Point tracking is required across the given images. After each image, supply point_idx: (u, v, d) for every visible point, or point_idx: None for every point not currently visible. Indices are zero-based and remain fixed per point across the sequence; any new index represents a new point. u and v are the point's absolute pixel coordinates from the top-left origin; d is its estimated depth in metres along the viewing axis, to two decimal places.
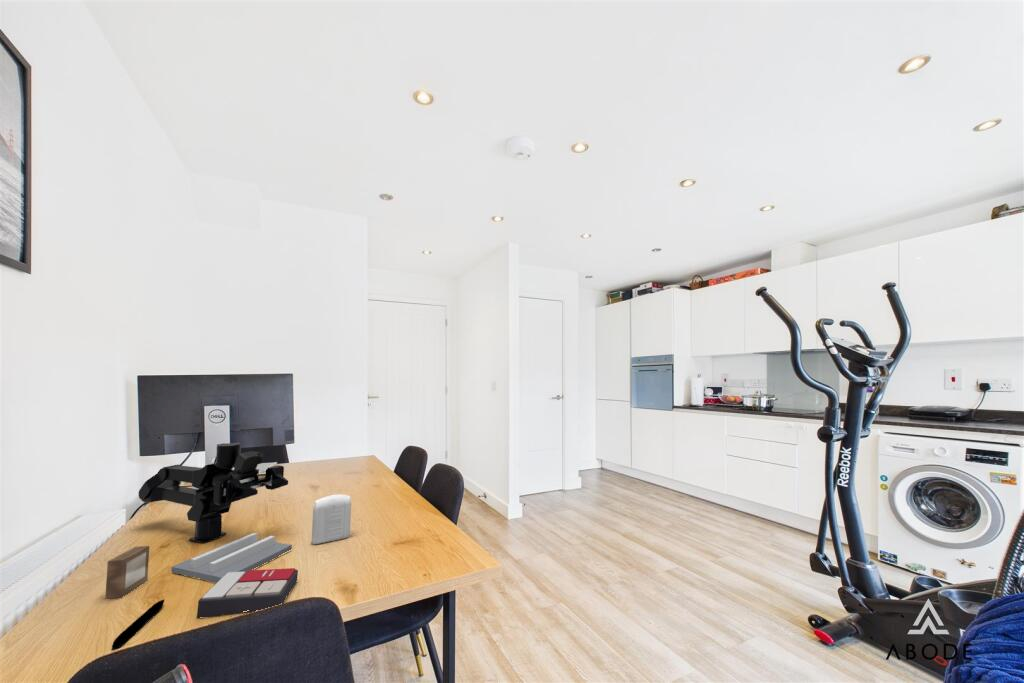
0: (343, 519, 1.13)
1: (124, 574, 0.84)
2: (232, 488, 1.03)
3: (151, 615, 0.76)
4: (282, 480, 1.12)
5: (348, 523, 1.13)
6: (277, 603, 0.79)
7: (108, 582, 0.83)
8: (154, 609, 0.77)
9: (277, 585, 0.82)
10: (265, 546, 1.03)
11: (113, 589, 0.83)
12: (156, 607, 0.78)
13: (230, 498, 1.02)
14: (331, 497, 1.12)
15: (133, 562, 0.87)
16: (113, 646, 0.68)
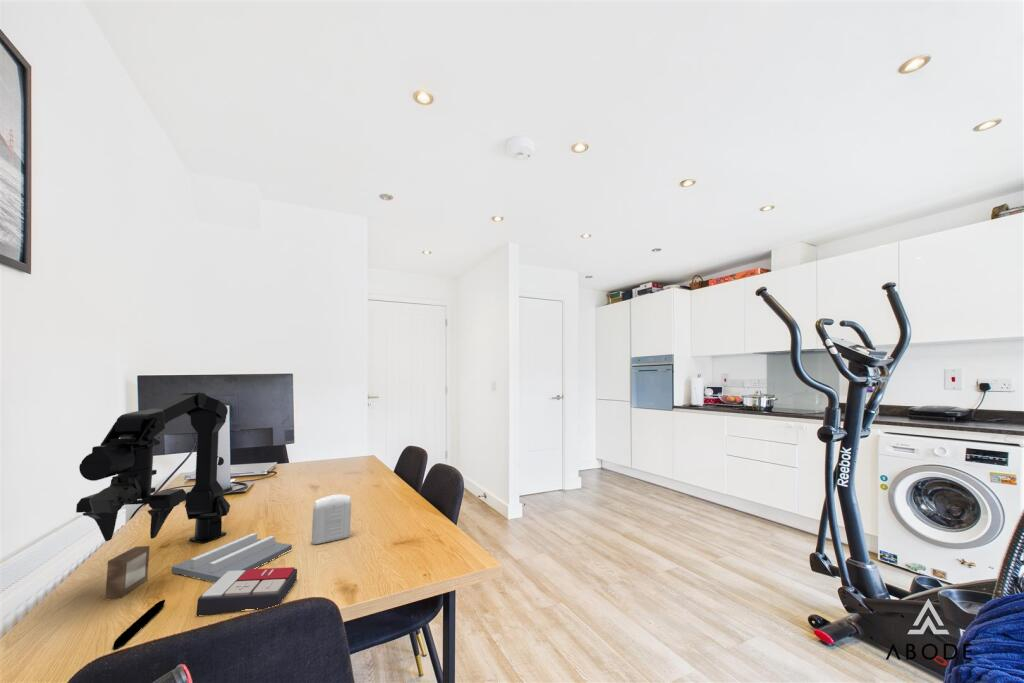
0: (343, 519, 1.13)
1: (124, 574, 0.84)
2: None
3: (151, 615, 0.76)
4: None
5: (348, 523, 1.13)
6: (275, 602, 0.80)
7: (108, 582, 0.83)
8: (155, 609, 0.77)
9: (275, 584, 0.82)
10: (265, 546, 1.03)
11: (113, 589, 0.83)
12: (157, 607, 0.78)
13: None
14: (331, 497, 1.12)
15: (133, 562, 0.87)
16: (114, 646, 0.68)
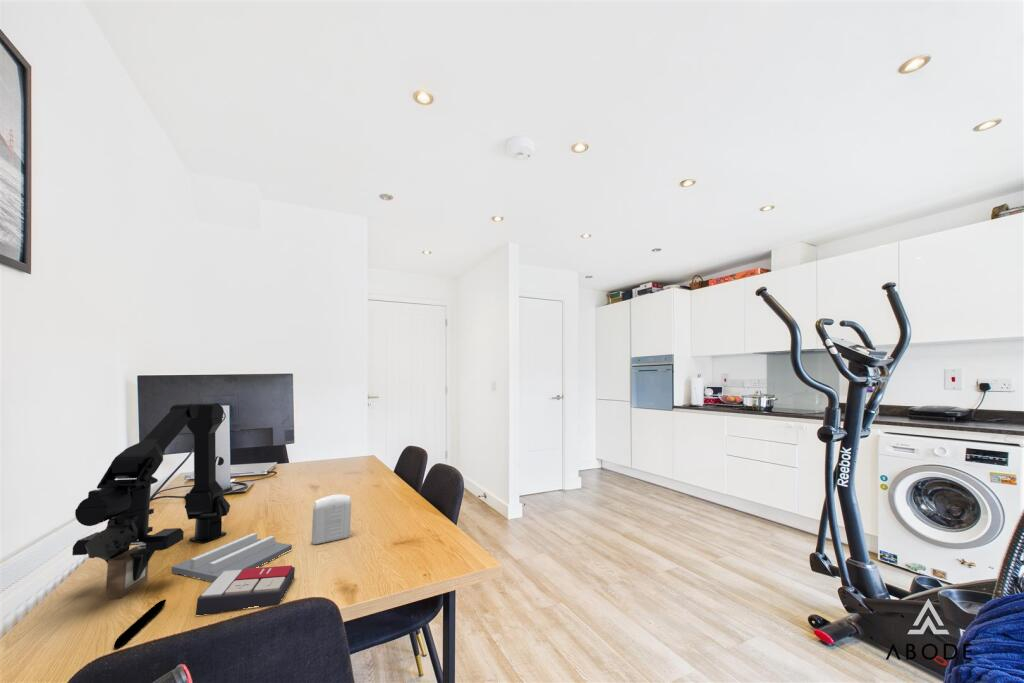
0: (343, 519, 1.13)
1: (124, 574, 0.84)
2: None
3: (152, 614, 0.76)
4: None
5: (348, 523, 1.13)
6: (276, 599, 0.81)
7: (108, 582, 0.83)
8: (156, 609, 0.77)
9: (276, 582, 0.83)
10: (265, 546, 1.03)
11: (113, 589, 0.83)
12: (158, 607, 0.78)
13: None
14: (331, 497, 1.12)
15: (133, 562, 0.87)
16: (115, 646, 0.68)
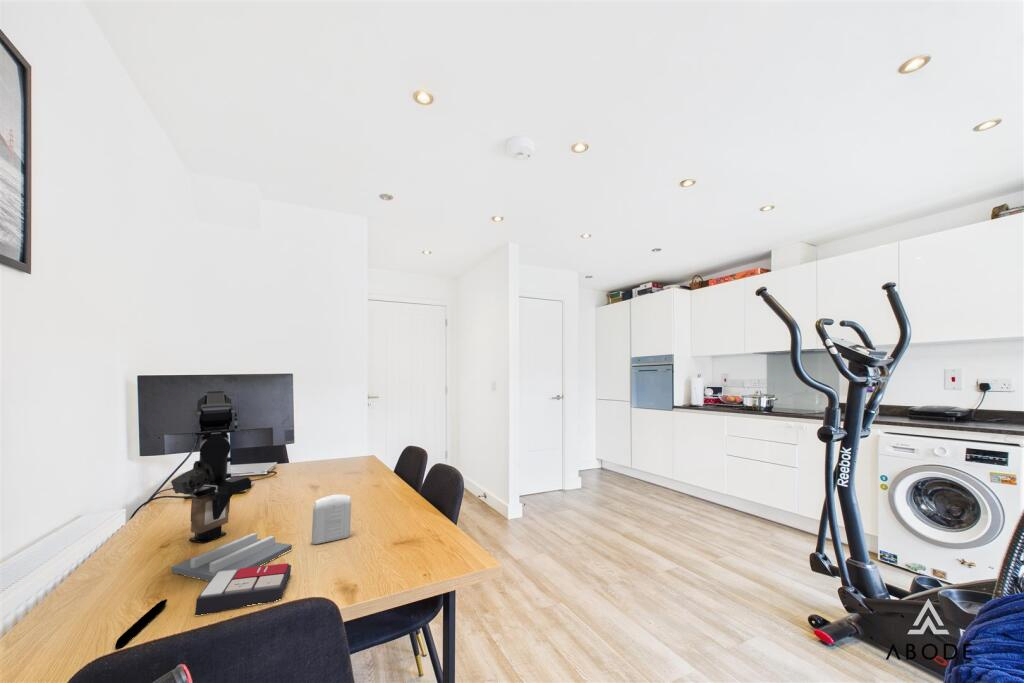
0: (343, 519, 1.13)
1: (203, 512, 0.94)
2: None
3: (153, 614, 0.76)
4: None
5: (348, 523, 1.13)
6: (278, 595, 0.82)
7: (192, 517, 0.94)
8: (157, 609, 0.77)
9: (275, 579, 0.85)
10: (265, 546, 1.03)
11: (195, 524, 0.94)
12: (159, 607, 0.78)
13: None
14: (331, 497, 1.12)
15: (212, 503, 0.96)
16: (116, 645, 0.68)
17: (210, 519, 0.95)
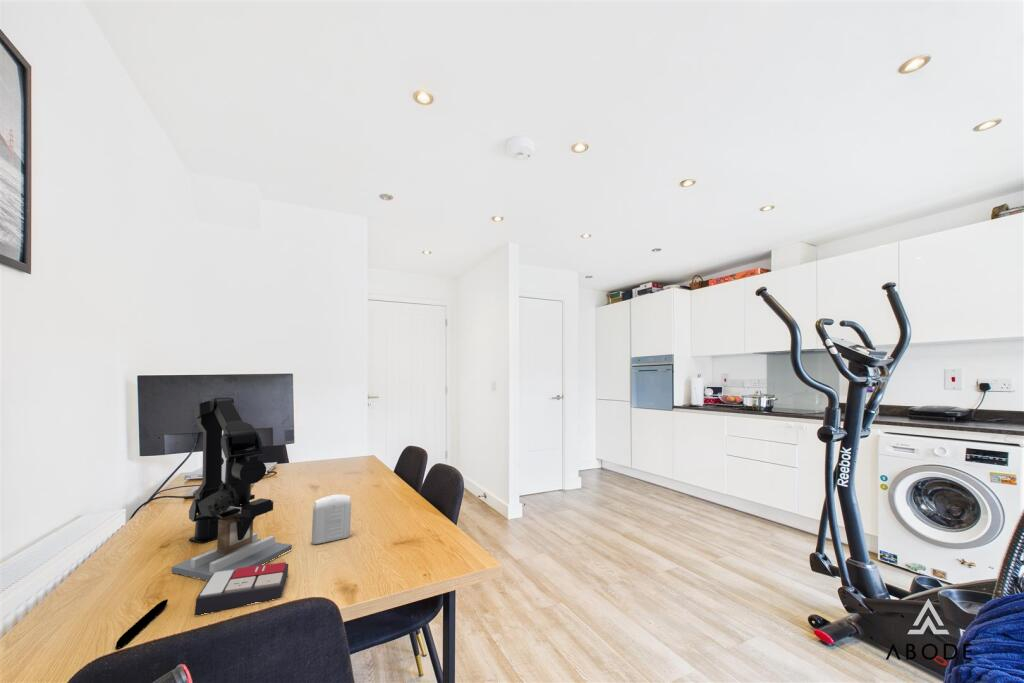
0: (343, 519, 1.13)
1: (228, 533, 0.97)
2: None
3: (154, 614, 0.76)
4: None
5: (348, 523, 1.13)
6: (278, 593, 0.83)
7: (218, 538, 0.97)
8: (157, 609, 0.78)
9: (275, 577, 0.85)
10: (265, 546, 1.03)
11: (221, 544, 0.97)
12: (159, 607, 0.78)
13: None
14: (331, 497, 1.12)
15: None
16: (116, 646, 0.68)
17: (235, 540, 0.98)
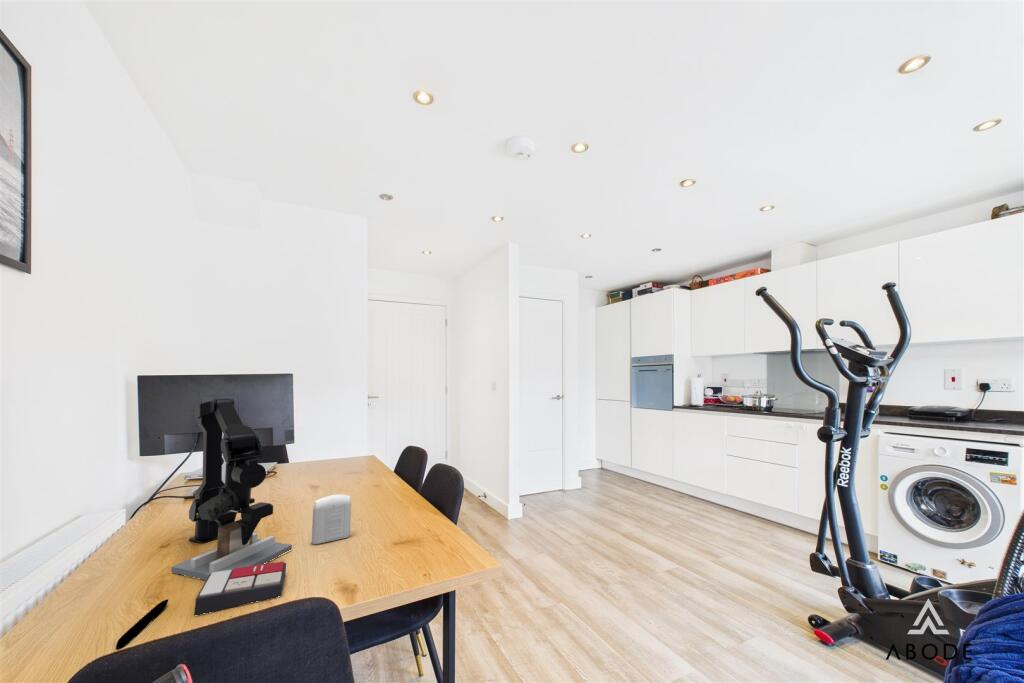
0: (343, 519, 1.13)
1: (228, 541, 0.97)
2: None
3: (154, 614, 0.76)
4: None
5: (348, 523, 1.13)
6: (278, 592, 0.83)
7: (218, 546, 0.97)
8: (158, 609, 0.78)
9: (274, 576, 0.86)
10: (265, 546, 1.03)
11: (221, 552, 0.97)
12: (160, 607, 0.78)
13: None
14: (331, 497, 1.12)
15: (236, 532, 0.99)
16: (117, 646, 0.68)
17: (235, 548, 0.98)
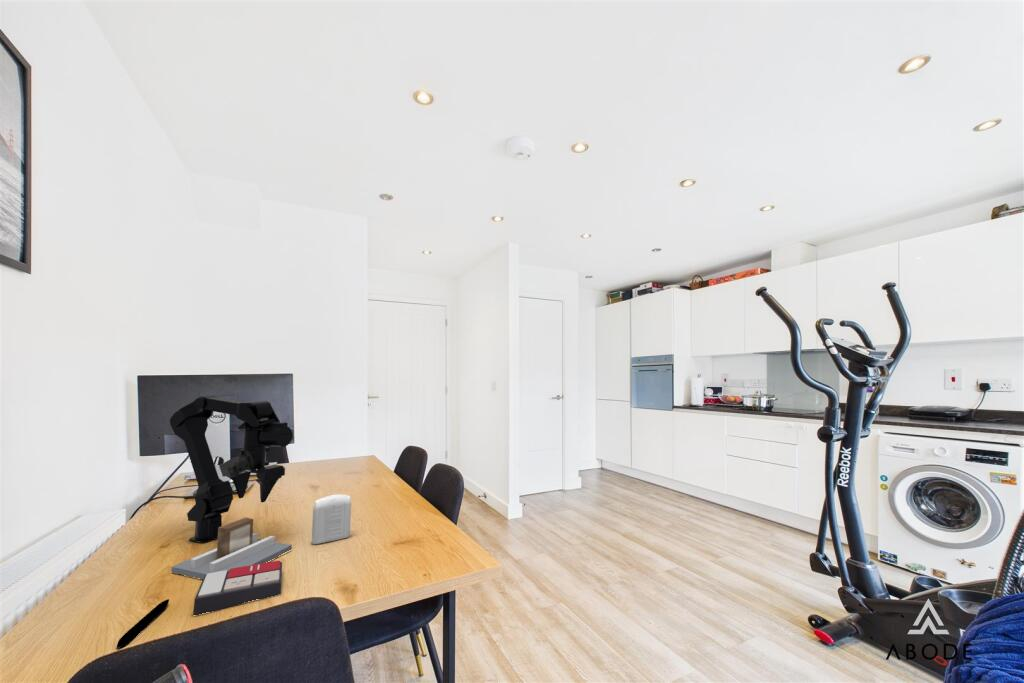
0: (343, 519, 1.13)
1: (228, 541, 0.97)
2: None
3: (155, 614, 0.76)
4: None
5: (348, 523, 1.13)
6: (278, 589, 0.84)
7: (218, 546, 0.97)
8: (159, 609, 0.78)
9: (273, 575, 0.86)
10: (265, 546, 1.03)
11: (221, 552, 0.97)
12: (161, 607, 0.78)
13: None
14: (331, 497, 1.12)
15: (236, 532, 0.99)
16: (118, 645, 0.68)
17: (235, 548, 0.98)
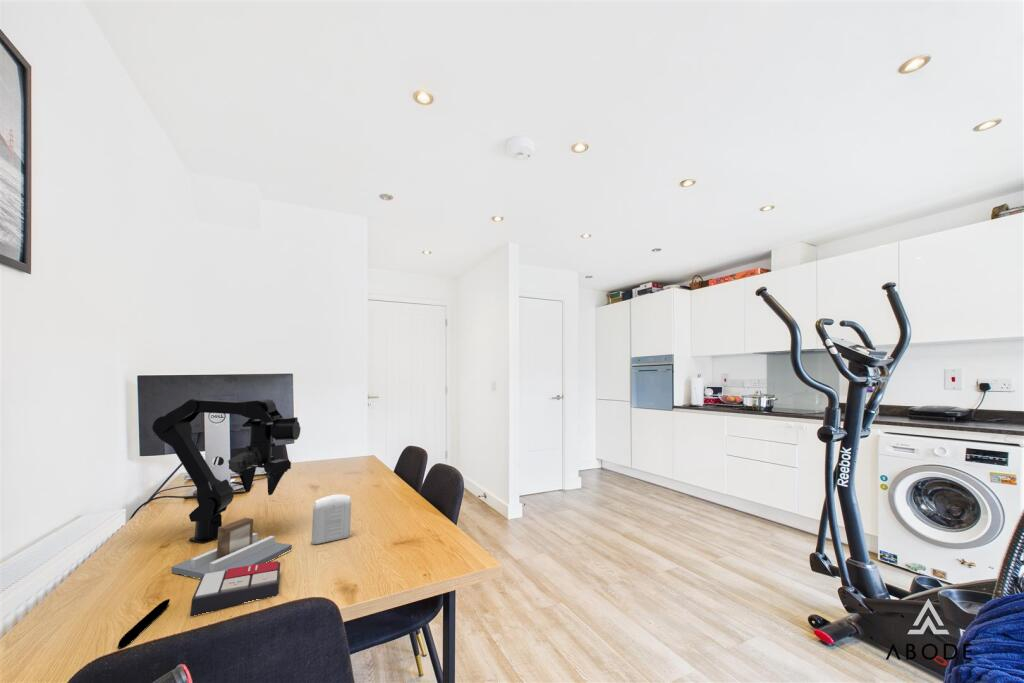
0: (343, 519, 1.13)
1: (228, 541, 0.97)
2: None
3: (156, 614, 0.76)
4: None
5: (348, 523, 1.13)
6: (275, 590, 0.84)
7: (218, 546, 0.97)
8: (160, 608, 0.78)
9: (270, 575, 0.86)
10: (265, 546, 1.03)
11: (221, 552, 0.97)
12: (162, 606, 0.78)
13: None
14: (331, 497, 1.12)
15: (236, 532, 0.99)
16: (119, 645, 0.68)
17: (235, 548, 0.98)
